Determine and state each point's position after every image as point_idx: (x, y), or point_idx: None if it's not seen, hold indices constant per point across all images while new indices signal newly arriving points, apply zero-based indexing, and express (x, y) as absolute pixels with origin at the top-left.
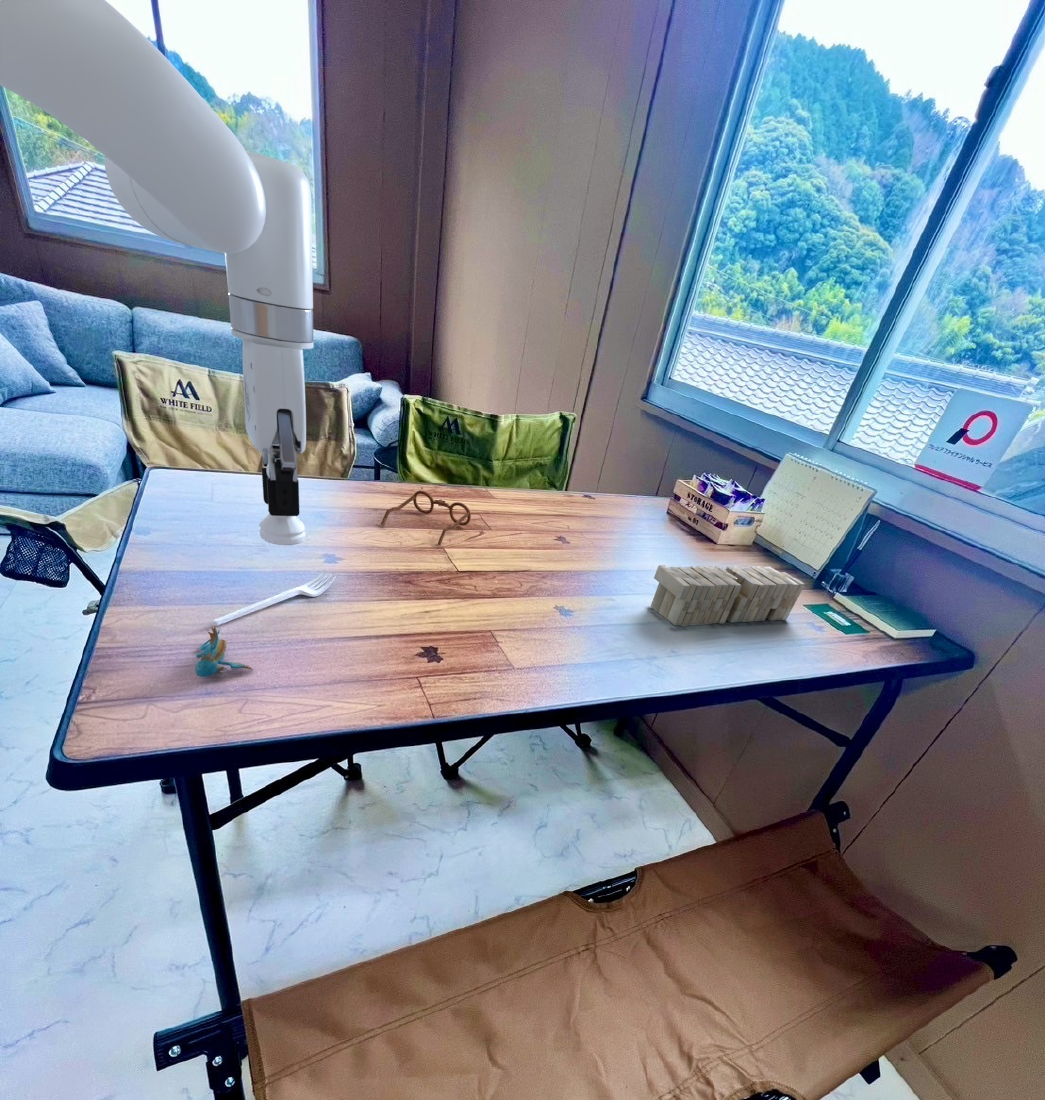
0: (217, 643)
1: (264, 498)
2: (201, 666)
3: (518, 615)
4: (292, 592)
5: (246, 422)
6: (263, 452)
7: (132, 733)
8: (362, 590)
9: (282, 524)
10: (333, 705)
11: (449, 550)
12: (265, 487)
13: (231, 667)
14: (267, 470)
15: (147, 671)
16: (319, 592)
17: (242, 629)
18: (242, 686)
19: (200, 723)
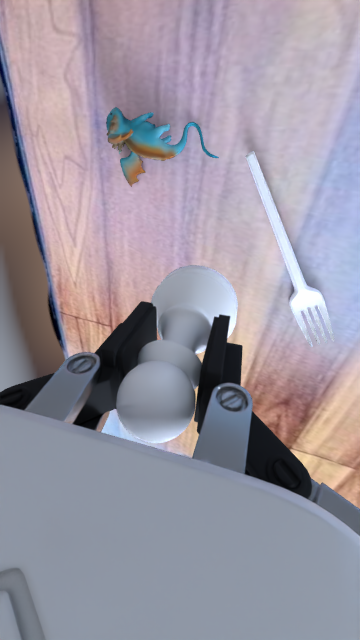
0: (152, 145)
1: (219, 319)
2: (108, 116)
3: (190, 434)
4: (294, 282)
5: (220, 565)
6: (203, 425)
7: (26, 13)
8: (285, 357)
9: (158, 312)
10: (75, 248)
11: (346, 469)
12: (210, 338)
13: (120, 159)
14: (142, 374)
15: (152, 31)
16: (293, 313)
17: (233, 193)
18: (108, 168)
19: (47, 108)
